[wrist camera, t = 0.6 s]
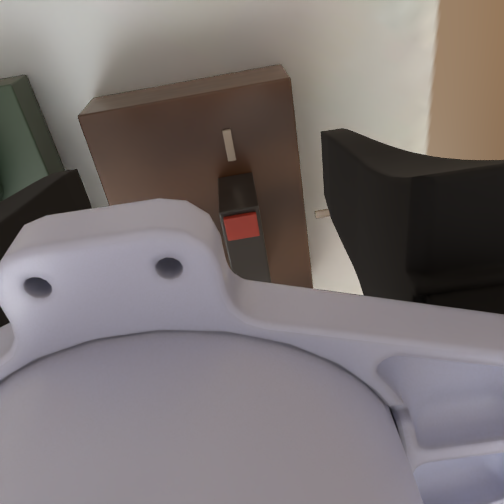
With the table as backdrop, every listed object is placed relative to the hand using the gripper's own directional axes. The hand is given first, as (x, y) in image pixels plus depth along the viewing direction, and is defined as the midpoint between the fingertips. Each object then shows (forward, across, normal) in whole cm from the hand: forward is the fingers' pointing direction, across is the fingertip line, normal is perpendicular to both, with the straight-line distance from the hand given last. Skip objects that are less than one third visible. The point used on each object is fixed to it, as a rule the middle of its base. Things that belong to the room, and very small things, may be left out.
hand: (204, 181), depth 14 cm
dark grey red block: (+7, -1, +6) cm, 9 cm away
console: (+10, +1, +6) cm, 11 cm away
